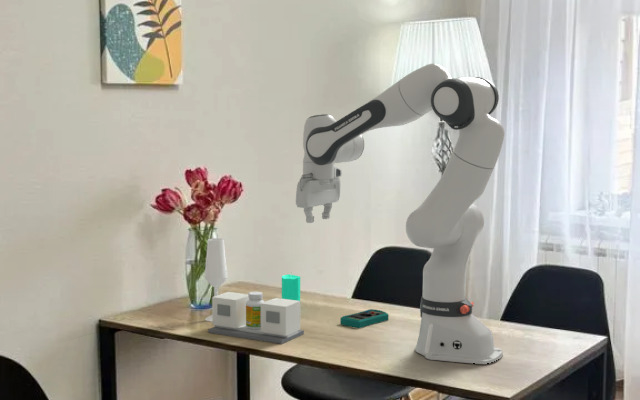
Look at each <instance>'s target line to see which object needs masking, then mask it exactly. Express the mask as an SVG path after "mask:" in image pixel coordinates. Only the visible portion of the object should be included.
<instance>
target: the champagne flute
mask: <svg viewBox="0 0 640 400" xmlns="http://www.w3.org/2000/svg"><path fill="white" fill-rule="evenodd" d="M225 245H226V244H225V239H224V238H218V237H217V238H216V237H215V238H207V247H206V257H205V266H204V267H205V270H204V279H205V280H206V281H207V283H208V284H209V285H210V286H211V287H213V297H214V296H217V295H219V287H221V285H223V283H224V282H225V281H226V280H227V279H228V266H227V258H226V250H225V249H226V247H225ZM204 321H206V322H211V323H212V314H210V315H209V316H207V317H206V318H204Z"/></svg>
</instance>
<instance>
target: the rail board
mask: <svg viewBox="0 0 640 400" xmlns="http://www.w3.org/2000/svg"><path fill="white" fill-rule="evenodd" d="M248 300H249V297H248V293H239V292H232V291H226V292H223V293H221V294H218V295H217V296H214V295H213V296H212V299H211V301H212V311H211V313H212V314H211V315H212V322H211V323H212V325H213V327H210V328H208V329H207V330H208V331H207V332H208V333H209V334H214V335H215V334H217V335H222V336H227V337H236V338H241V339H247V340H254V341H260V342H266V343H273V344H280V345H283V344H285V343H287V342H290V341H291V340H294V339H296V338H298V337H300V336H302V335H304V334H305V330H304V329H303V330H301V300H300V301H296V300H288V299H282V298H279V297H275V298H274V297H273V298H272V299H269V300H266V301H264V302H263V303H261V329H249V328H247V327H246V302H247V301H248Z"/></svg>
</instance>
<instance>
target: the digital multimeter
mask: <svg viewBox="0 0 640 400" xmlns="http://www.w3.org/2000/svg"><path fill="white" fill-rule="evenodd" d="M387 321H389V313H388V312H386V311H383V310H379V309H372V308H371V309H366V310H363V311H359V312H355V313H352V314H348V315H343V316H342V317H340V325H343V326H346V327H349V328H355V329H361V328H365V327H368V326H372V325H375V324H379V323H382V322H387Z"/></svg>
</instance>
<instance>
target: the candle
mask: <svg viewBox="0 0 640 400" xmlns="http://www.w3.org/2000/svg"><path fill="white" fill-rule="evenodd" d="M281 299H288V300H296V301H300V302H301V276H299V275H296V274H295V275H294V274H291V273H289V274H283V275H281Z"/></svg>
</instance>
